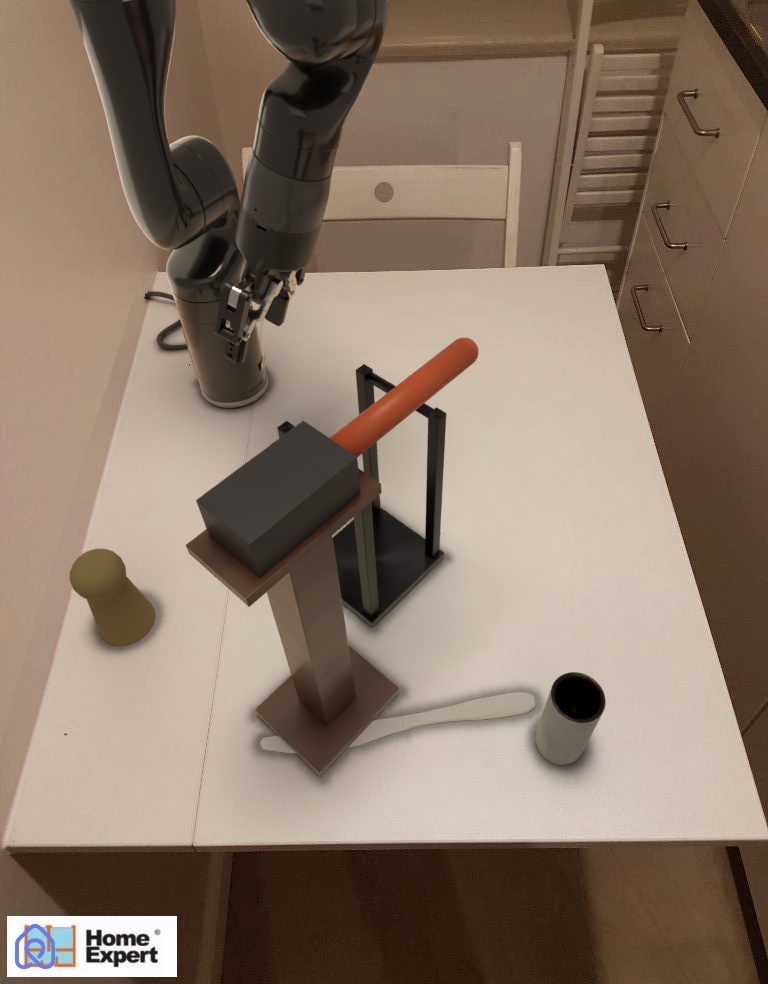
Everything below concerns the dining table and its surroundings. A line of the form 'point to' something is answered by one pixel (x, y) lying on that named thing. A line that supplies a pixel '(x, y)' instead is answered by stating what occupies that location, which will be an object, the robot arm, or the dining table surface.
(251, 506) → the orange-handled mallet
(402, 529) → the black rack
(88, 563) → the olive pawn
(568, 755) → the planter
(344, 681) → the wooden pedestal stand
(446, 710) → the butter knife
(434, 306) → the dining table surface
